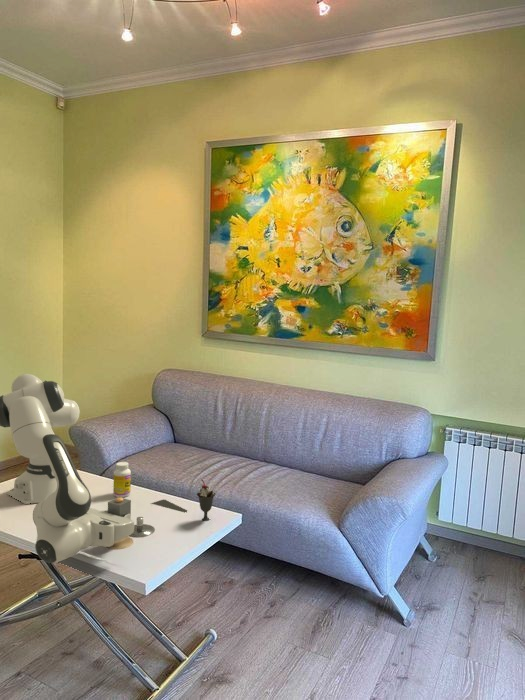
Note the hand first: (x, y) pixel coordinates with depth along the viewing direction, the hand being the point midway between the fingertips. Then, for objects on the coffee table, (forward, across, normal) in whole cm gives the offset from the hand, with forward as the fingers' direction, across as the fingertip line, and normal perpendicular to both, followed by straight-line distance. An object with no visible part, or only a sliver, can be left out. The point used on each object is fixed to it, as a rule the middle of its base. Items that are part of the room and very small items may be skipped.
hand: (121, 513), depth 163 cm
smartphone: (+30, -4, -10) cm, 32 cm away
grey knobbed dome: (+9, 0, -10) cm, 14 cm away
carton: (-1, 0, -5) cm, 5 cm away
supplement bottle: (+31, -28, -10) cm, 43 cm away
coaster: (-1, 0, -10) cm, 10 cm away
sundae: (+28, +14, -10) cm, 33 cm away
